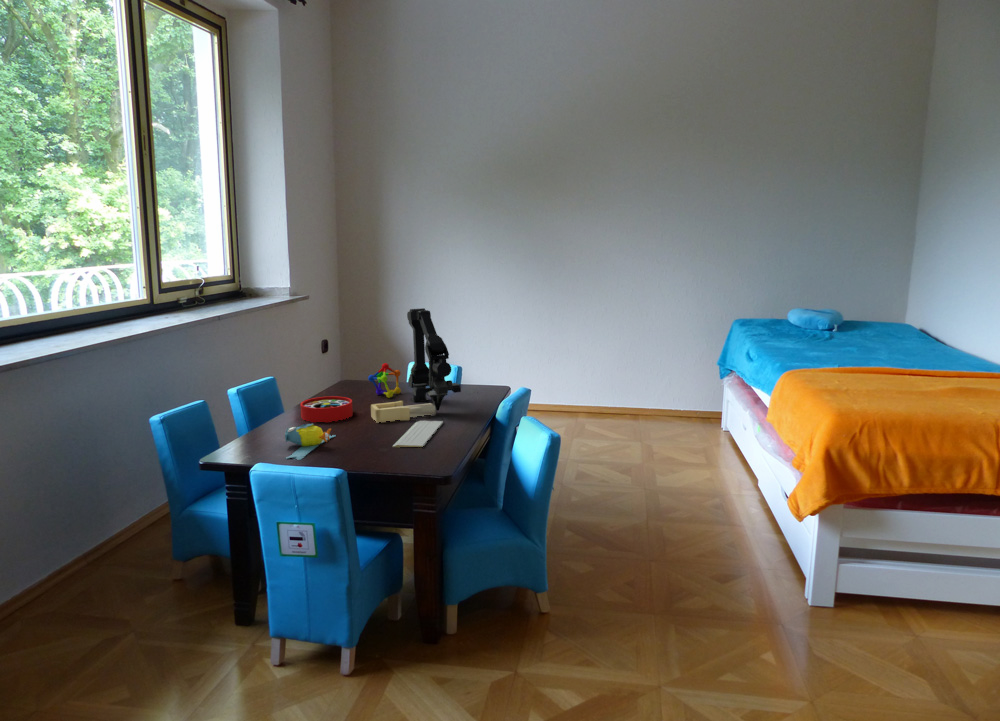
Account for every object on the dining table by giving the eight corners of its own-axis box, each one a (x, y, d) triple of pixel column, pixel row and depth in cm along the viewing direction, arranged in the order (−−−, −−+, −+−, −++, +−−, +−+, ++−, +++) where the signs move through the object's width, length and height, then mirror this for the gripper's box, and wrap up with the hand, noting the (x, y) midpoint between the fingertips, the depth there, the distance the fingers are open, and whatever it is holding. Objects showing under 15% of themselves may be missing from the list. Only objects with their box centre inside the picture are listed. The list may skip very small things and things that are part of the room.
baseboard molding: (388, 448, 242) (422, 450, 240) (388, 440, 241) (422, 441, 240) (412, 424, 272) (443, 425, 270) (412, 416, 272) (443, 417, 270)
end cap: (370, 416, 282) (369, 403, 281) (402, 412, 287) (402, 400, 286) (377, 423, 271) (376, 411, 270) (410, 420, 275) (410, 407, 274)
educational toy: (375, 394, 324) (375, 361, 323) (402, 394, 323) (402, 361, 322) (364, 398, 309) (364, 364, 308) (393, 399, 308) (393, 365, 306)
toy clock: (313, 395, 294) (359, 397, 290) (314, 409, 295) (360, 411, 291) (291, 407, 274) (340, 409, 271) (292, 422, 276) (340, 424, 272)
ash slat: (377, 418, 279) (377, 408, 279) (431, 412, 288) (431, 403, 287) (380, 421, 275) (380, 411, 274) (435, 415, 283) (435, 405, 282)
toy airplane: (308, 435, 227) (265, 434, 230) (310, 461, 229) (267, 460, 232) (344, 413, 254) (305, 412, 257) (346, 437, 255) (307, 435, 259)
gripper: (419, 378, 272) (420, 417, 275) (465, 373, 279) (466, 412, 282) (411, 373, 282) (412, 411, 285) (456, 368, 289) (457, 406, 292)
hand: (437, 410), depth 285 cm, fingers closed
